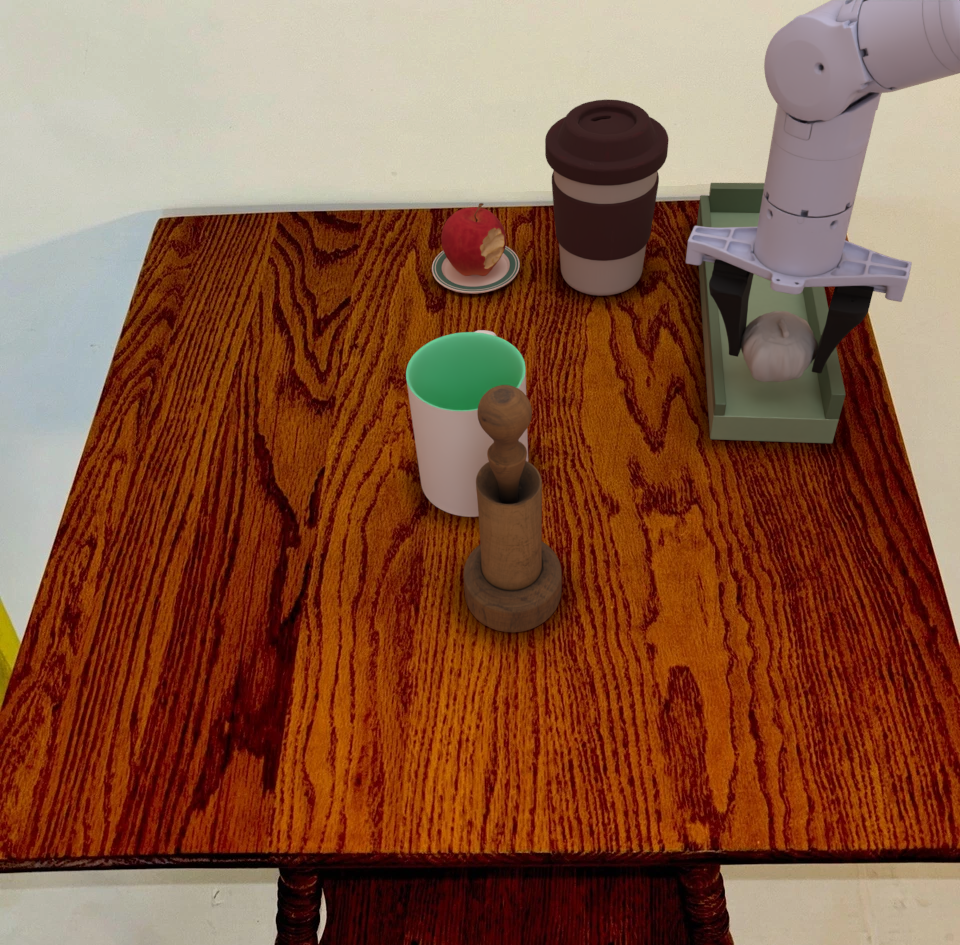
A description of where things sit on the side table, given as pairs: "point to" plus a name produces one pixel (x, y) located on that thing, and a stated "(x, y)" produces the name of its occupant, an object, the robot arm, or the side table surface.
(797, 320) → the garlic
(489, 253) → the apple
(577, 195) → the coffee cup
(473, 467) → the mug
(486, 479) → the mortar and pestle
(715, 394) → the tray
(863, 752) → the side table surface
